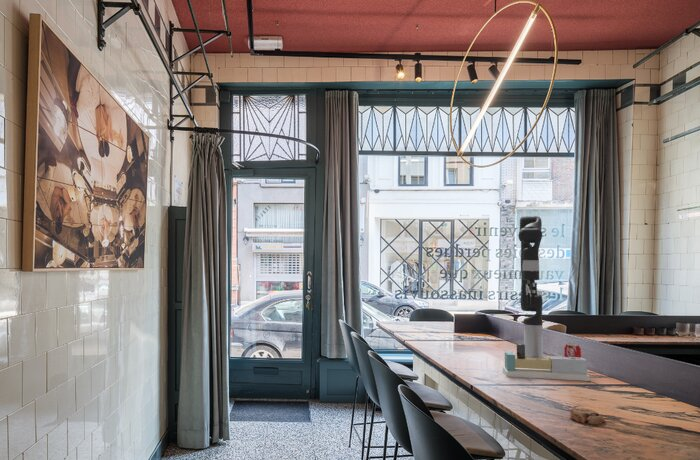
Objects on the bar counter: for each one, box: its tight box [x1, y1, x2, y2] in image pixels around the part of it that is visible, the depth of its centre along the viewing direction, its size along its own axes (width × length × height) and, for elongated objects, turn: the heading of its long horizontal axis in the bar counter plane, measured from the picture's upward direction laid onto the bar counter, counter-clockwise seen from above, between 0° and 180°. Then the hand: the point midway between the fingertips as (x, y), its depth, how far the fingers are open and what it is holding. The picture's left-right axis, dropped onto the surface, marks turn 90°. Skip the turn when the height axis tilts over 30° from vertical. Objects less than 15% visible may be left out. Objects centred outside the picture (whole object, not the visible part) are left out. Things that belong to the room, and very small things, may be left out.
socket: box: [504, 350, 516, 371], centre depth 210 cm, size 8×3×7 cm, turn 170°
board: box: [502, 365, 591, 382], centre depth 207 cm, size 12×34×2 cm, turn 80°
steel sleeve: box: [548, 355, 588, 374], centre depth 206 cm, size 6×14×6 cm, turn 80°
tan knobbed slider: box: [515, 343, 552, 370], centre depth 209 cm, size 4×20×10 cm, turn 80°
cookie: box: [569, 407, 606, 426], centre depth 149 cm, size 10×11×3 cm
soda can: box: [563, 342, 582, 358], centre depth 219 cm, size 7×7×12 cm
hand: (531, 304), depth 224 cm, fingers open, 8 cm apart
